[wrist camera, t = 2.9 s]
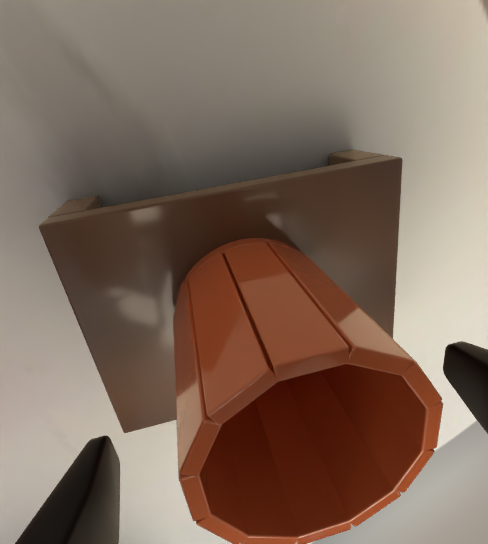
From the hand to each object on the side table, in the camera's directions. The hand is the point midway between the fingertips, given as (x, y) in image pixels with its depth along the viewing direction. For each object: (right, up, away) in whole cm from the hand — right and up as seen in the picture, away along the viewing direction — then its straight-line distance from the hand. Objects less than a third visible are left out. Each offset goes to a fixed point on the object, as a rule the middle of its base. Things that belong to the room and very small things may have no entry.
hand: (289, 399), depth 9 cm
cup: (-1, +2, +4) cm, 5 cm away
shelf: (-2, +3, +7) cm, 8 cm away
